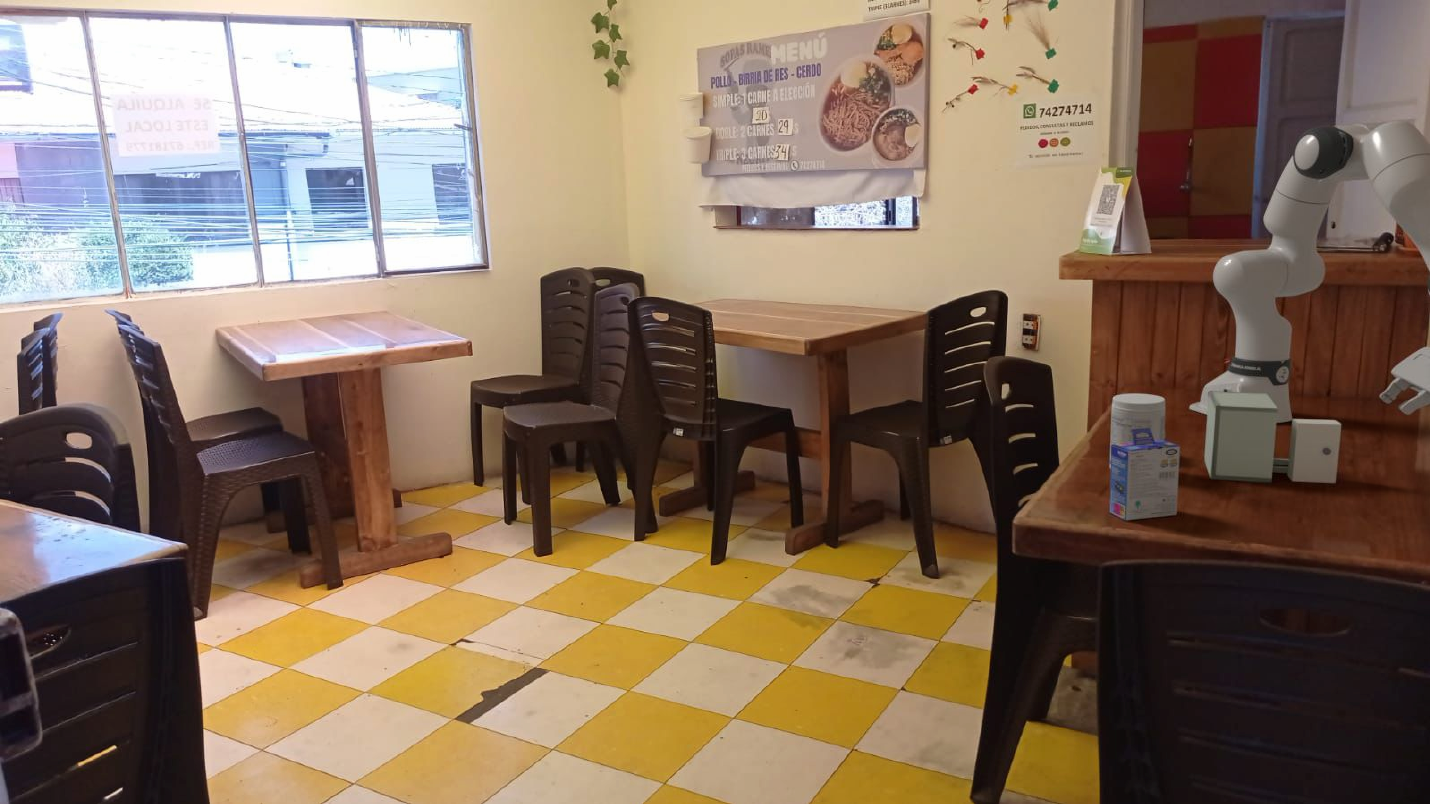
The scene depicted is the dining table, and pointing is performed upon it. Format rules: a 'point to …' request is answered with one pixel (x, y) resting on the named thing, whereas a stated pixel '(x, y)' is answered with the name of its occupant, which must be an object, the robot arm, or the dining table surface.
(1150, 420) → the supplement tub
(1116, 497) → the ink cartridge box
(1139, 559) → the dining table surface
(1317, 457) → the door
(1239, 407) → the cabinet
